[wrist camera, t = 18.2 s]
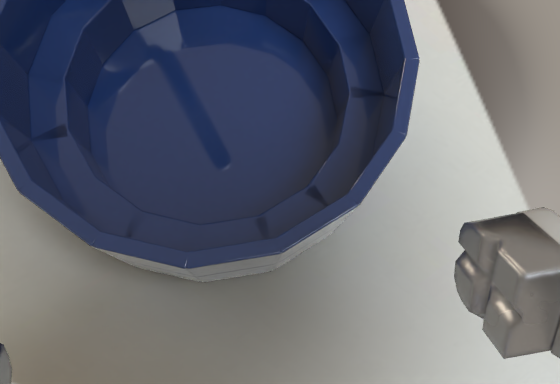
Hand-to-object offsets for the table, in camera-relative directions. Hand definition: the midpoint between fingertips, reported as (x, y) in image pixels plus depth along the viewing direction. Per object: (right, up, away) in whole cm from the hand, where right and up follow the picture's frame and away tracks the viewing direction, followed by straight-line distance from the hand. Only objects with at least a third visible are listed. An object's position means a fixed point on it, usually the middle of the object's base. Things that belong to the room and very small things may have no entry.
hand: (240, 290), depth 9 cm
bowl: (-2, +5, +13) cm, 14 cm away
